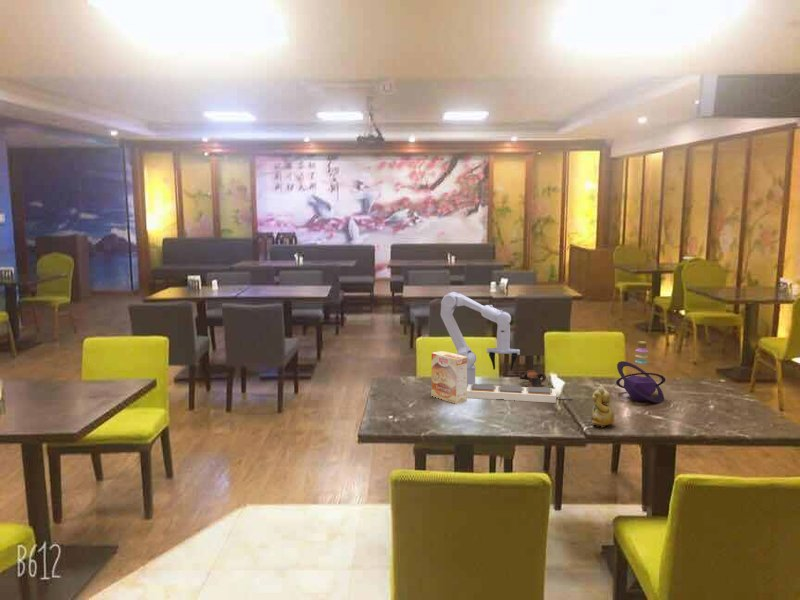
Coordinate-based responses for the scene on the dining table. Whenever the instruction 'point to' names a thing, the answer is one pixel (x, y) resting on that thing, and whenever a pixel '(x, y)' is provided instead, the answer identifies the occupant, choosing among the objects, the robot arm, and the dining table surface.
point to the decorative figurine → (602, 408)
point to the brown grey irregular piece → (532, 378)
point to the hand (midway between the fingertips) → (502, 369)
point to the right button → (539, 390)
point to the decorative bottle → (640, 379)
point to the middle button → (511, 389)
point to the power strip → (513, 395)
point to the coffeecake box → (449, 377)
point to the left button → (483, 387)
